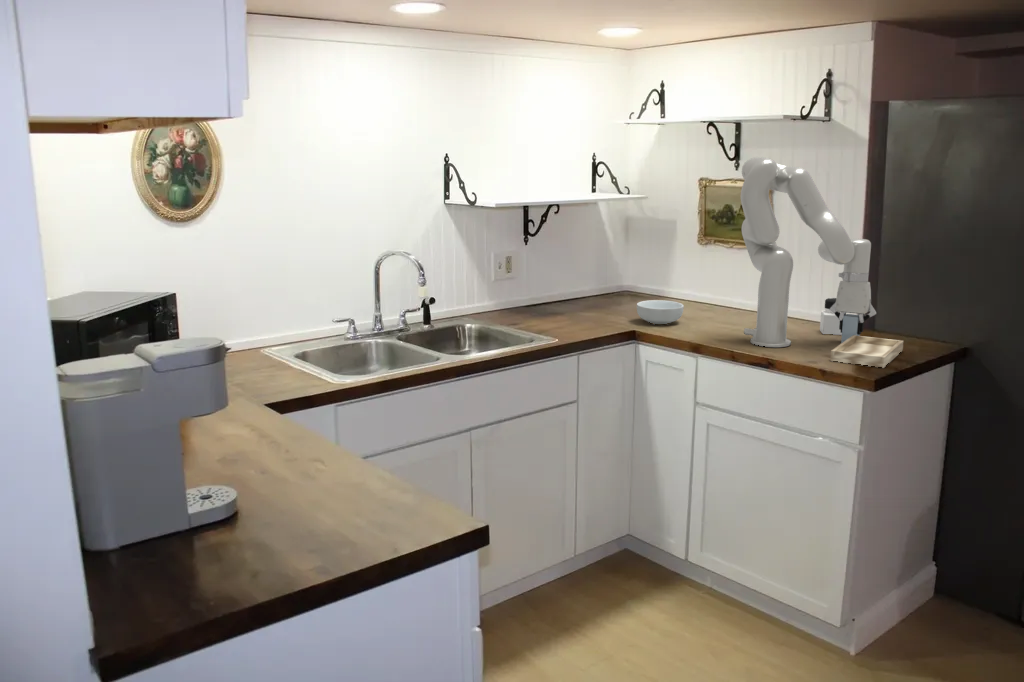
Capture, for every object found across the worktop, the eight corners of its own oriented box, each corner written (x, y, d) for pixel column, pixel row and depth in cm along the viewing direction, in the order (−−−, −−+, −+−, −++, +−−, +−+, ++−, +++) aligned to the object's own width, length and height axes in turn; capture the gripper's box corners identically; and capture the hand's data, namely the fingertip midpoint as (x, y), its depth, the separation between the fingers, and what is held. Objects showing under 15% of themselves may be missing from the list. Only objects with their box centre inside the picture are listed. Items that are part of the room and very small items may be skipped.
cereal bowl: (632, 326, 303) (633, 306, 301) (639, 317, 318) (640, 299, 317) (680, 328, 298) (681, 309, 296) (685, 319, 313) (685, 301, 312)
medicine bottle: (844, 335, 285) (847, 300, 282) (822, 334, 286) (825, 300, 284) (841, 331, 292) (843, 297, 289) (819, 330, 293) (822, 296, 291)
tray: (830, 361, 251) (831, 350, 250) (852, 344, 271) (853, 335, 271) (883, 368, 242) (884, 357, 241) (902, 350, 263) (903, 340, 262)
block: (841, 342, 274) (843, 315, 272) (844, 340, 278) (847, 313, 276) (855, 344, 272) (857, 317, 270) (859, 342, 275) (861, 315, 273)
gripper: (825, 277, 272) (821, 332, 276) (880, 281, 262) (875, 338, 266) (831, 274, 278) (827, 328, 282) (886, 278, 268) (881, 334, 272)
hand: (850, 332), depth 274 cm, fingers closed on block, 4 cm apart
